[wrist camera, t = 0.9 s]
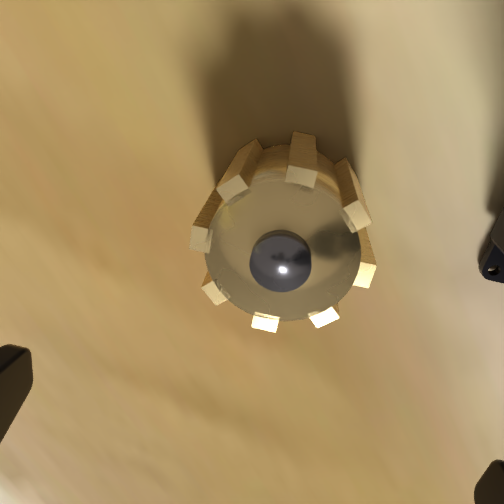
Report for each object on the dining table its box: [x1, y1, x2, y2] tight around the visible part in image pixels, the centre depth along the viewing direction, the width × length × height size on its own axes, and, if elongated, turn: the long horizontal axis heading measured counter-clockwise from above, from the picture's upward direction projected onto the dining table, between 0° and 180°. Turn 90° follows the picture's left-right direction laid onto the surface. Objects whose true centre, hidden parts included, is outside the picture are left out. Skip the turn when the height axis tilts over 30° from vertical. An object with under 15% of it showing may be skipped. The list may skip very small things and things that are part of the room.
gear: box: [189, 131, 377, 332], centre depth 16 cm, size 6×6×6 cm
